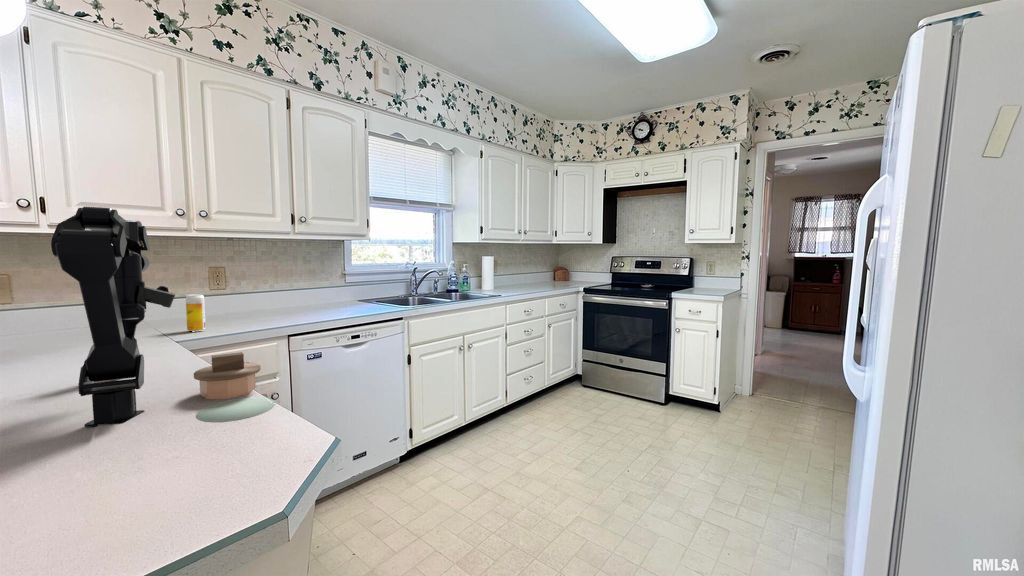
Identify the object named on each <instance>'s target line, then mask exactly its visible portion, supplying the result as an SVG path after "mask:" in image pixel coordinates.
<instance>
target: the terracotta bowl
mask: <svg viewBox="0 0 1024 576" xmlns="http://www.w3.org/2000/svg"><path fill="white" fill-rule="evenodd" d="M256 385H257V384H256V373H255V374H253V375H250V376H247V377H243V378H238V379H232V380H224V381H199V394H200V397H202V398H204V399H206V400H223V399H225V400H226V399H232V398H236V397H240V396H241V397H242V396H244V395H248V394H249V393H251V392H253V391H254V390H255V389H256Z"/></svg>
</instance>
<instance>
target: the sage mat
mask: <svg viewBox="0 0 1024 576" xmlns="http://www.w3.org/2000/svg"><path fill="white" fill-rule="evenodd" d="M265 398H266V397H259V396H258V397H257V396H254V397H241V398H234V399H229V400H224V401H221V402H217V403H214V404H211V405H208V406H206V407H204V408H202V409H201V410H199V411H198V412H197V413H196V415H195V418H196V420H198V421H201V422H205V423H229V422H235V421H237V422H238V421H241V420H246V419H247V420H248V419H251V418H255V417H256V416H259V415H263V414H265V413H267V412H269V411H271V410H272V409H273V408H274V407H275V406H276V401H275V400H274V399H272V398H268V397H267V398H266V399H265ZM267 399H268V400H270V401H271V402H272V403H271V402H270V401H268V400H267ZM274 403H275V404H274Z"/></svg>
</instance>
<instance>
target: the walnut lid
mask: <svg viewBox="0 0 1024 576" xmlns="http://www.w3.org/2000/svg"><path fill="white" fill-rule="evenodd" d="M244 359H245V358H244V352H233V353H232V352H231V353H225V354H224V353H223V354H216V355H211V365H210V366H206V367H202V368H200V369H197V370H196V371H195V372H193V379H194V380H196V381H199V382H200V381H224V380H232V379H238V378H243V377H247V376H250V375H253V374H255V375H256V374H258V373H259V372H260V371H261V369H262V367H261V364H259V363H256V362H247V361H245V360H244Z"/></svg>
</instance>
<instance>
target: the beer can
mask: <svg viewBox="0 0 1024 576" xmlns="http://www.w3.org/2000/svg"><path fill="white" fill-rule="evenodd" d="M205 307H206V305H205V296H204V294H199V293H198V294H197V293H193V294H186V296H185V312H186V330H187V331H188V332H189V331H199V330H204V329H205V330H206V325H207V324H206V308H205ZM205 330H204V331H205Z"/></svg>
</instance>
